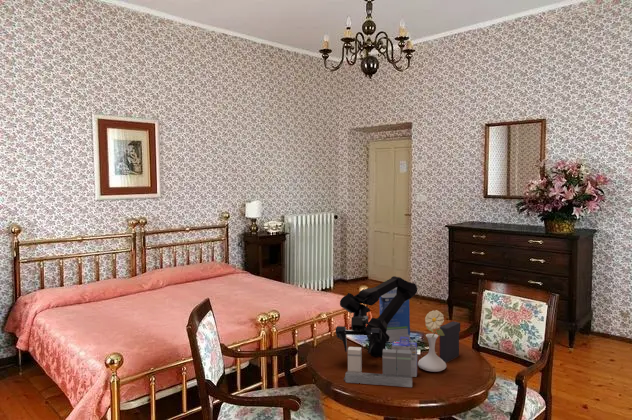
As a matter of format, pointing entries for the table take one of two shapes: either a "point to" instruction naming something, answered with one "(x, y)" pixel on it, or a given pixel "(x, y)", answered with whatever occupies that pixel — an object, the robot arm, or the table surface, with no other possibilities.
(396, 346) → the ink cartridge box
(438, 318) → the flower in vase
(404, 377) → the rail
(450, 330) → the dark grey box
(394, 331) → the string lights box
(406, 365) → the block
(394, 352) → the block
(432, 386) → the table surface
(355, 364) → the block
